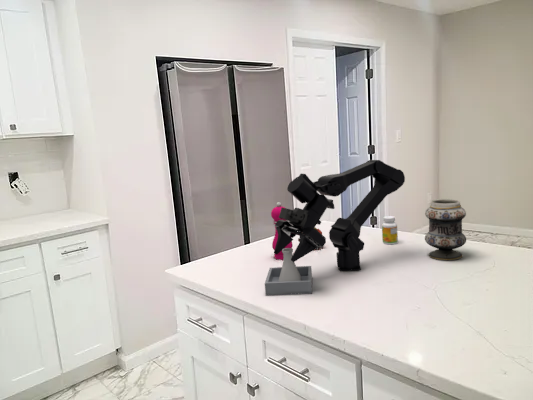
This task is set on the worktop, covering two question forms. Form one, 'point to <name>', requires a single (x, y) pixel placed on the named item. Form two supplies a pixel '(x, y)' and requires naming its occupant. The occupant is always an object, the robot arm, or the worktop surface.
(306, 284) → the box
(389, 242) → the supplement bottle
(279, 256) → the pepper mill
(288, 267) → the flask
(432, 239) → the apothecary jar
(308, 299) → the worktop surface
